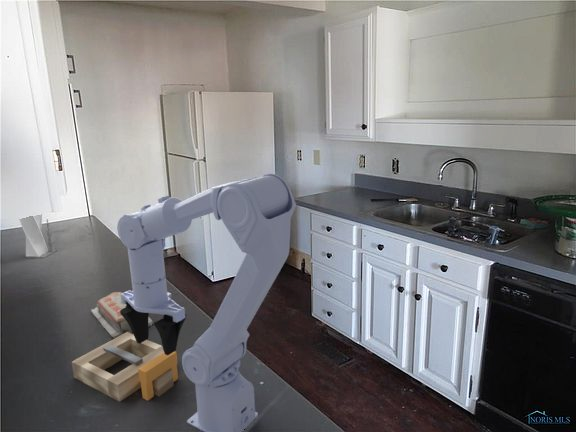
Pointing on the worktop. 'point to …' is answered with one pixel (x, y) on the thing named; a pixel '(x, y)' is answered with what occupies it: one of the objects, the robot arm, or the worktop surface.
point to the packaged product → (113, 315)
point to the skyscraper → (36, 237)
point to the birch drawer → (110, 353)
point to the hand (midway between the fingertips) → (156, 346)
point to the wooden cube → (163, 383)
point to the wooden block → (156, 372)
